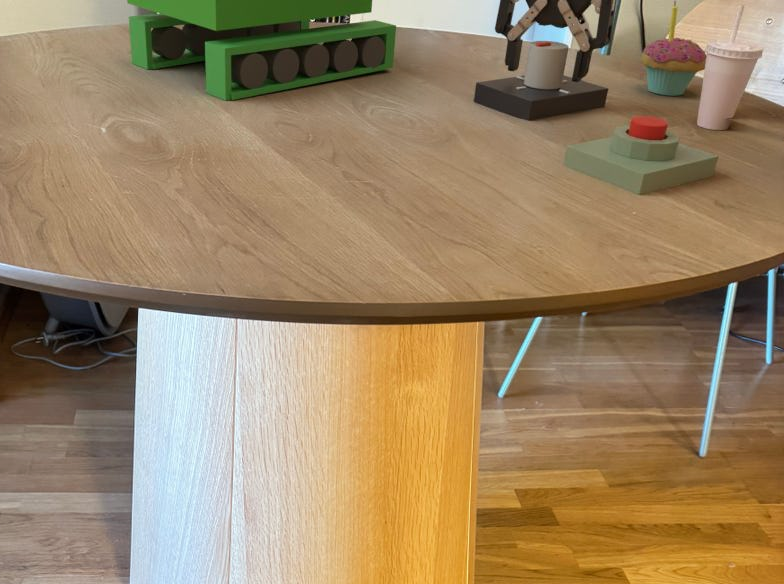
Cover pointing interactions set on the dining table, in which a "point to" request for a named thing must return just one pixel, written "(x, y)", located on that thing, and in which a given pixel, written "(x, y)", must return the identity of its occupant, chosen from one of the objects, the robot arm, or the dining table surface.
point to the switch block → (640, 161)
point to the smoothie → (726, 78)
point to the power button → (648, 128)
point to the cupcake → (672, 62)
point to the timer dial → (546, 64)
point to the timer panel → (539, 97)
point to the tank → (260, 42)
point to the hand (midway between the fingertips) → (544, 75)
